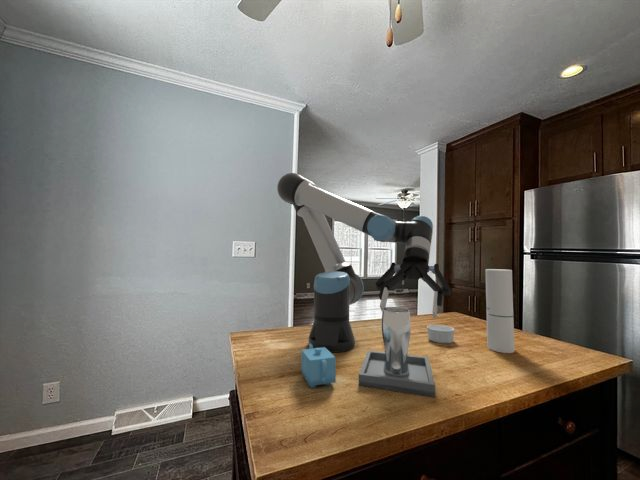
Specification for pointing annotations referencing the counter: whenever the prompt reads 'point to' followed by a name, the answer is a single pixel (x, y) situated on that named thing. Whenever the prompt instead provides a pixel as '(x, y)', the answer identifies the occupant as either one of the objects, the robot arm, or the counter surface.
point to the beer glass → (396, 340)
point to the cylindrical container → (499, 310)
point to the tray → (412, 383)
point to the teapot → (318, 366)
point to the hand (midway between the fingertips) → (407, 312)
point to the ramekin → (440, 333)
